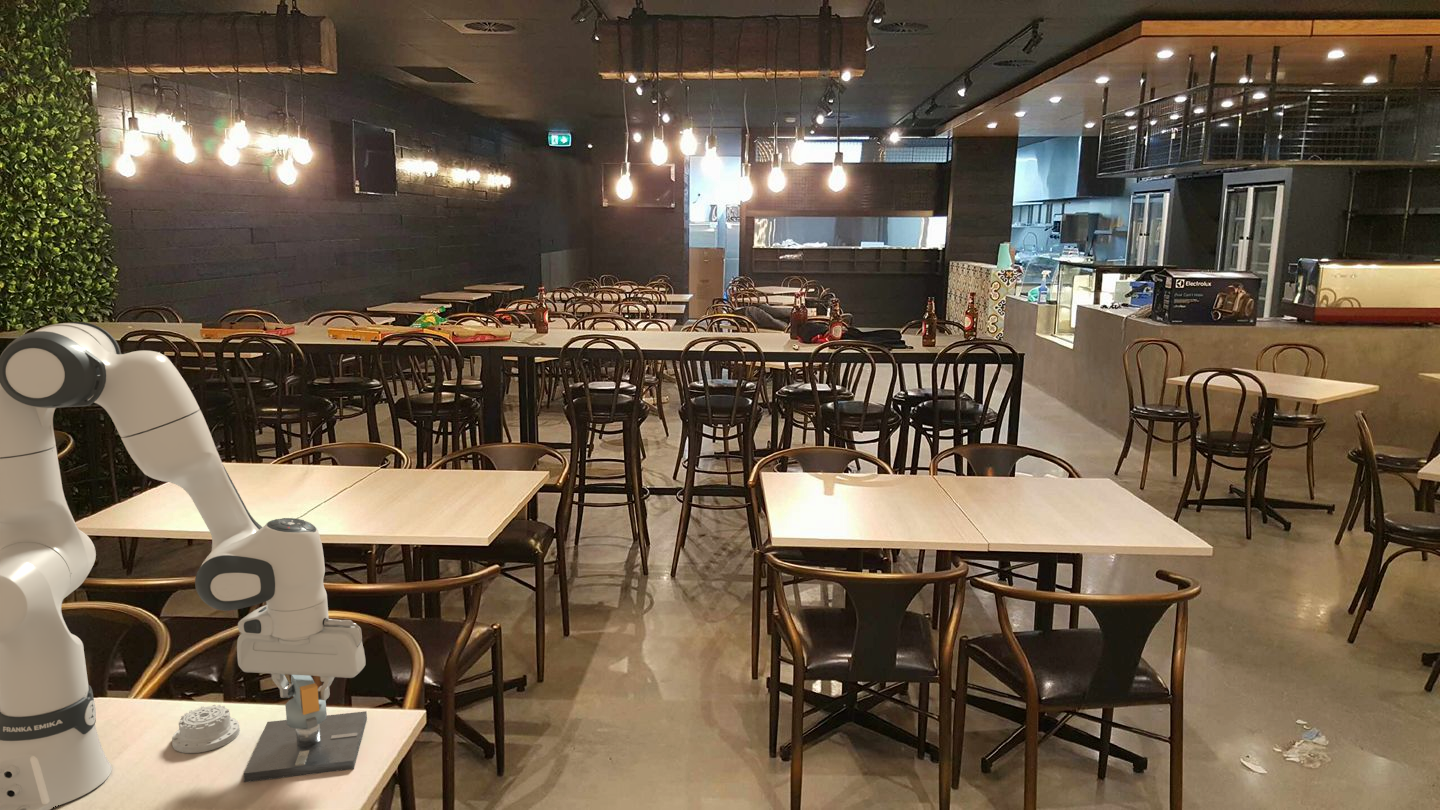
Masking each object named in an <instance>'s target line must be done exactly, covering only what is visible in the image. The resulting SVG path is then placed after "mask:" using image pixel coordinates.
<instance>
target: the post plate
mask: <svg viewBox="0 0 1440 810" xmlns="http://www.w3.org/2000/svg"><path fill="white" fill-rule="evenodd" d="M367 720H368V713H367V710H365V711H364V710H363V711H357V712H356V711H355V712H349V713H348V712H347V713H337V714H336V713H335V714H328V715H327V717H326V719H325V720H324V721H323V722H321V723H320V724H318V725H317V726H316V727H312V728H309V729H308V728H302V729H296V728H291V727H289V726H288V725H287V719H280V720H272V721H267V722H266V725H265V727H264V728H263V731H262V732H261V735H260V737H259V739H258V742H257V743H256V745H255V748H254V750H253V753H252V754H251V757H250V758H249V761H248V763H247V764H246V767H245V769H244V771H243V783H250V782H257V781H266V780H273V779H275V780H276V779H281V778H291V777H298V776H306V775H316V774H324V773H331V772H332V773H333V772H334V773H335V772H340V771H347V770H348V771H349V770H354V769H355V766H356V762H357V759H358V755H359V751H360V747H361V743H362V740H363V736H364V733H365V728H366V723H367V722H368V721H367Z"/></svg>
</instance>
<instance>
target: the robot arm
mask: <svg viewBox="0 0 1440 810" xmlns="http://www.w3.org/2000/svg"><path fill="white" fill-rule="evenodd" d="M93 404H97V405H99V406H100V407H102V408H103V409H104V410H105V411H106V412H107V414H108V416H109V417H110V418H111V420H112V422H113V424H114V426H115V429H116V430H117V432H118V435H119V436H120V439H121V441H122V443H123V445H124V447H125V450H126V452H127V453H128V455H130V458H131V459H132V460H133V462H134V463H135V464H136V466H137V467H138V468H139V469H140V471H141V472H142V473H143V474H144V475H145V476H148V477H149V478H151V479H154V480H157V481H161V482H165V483H171V484H174V485H175V486H178V487H180V488H181V489H183V490H184V491H185V492H186V494H188V496H189V497H190V498H191V500H192V502H193V504H194V505H195V507H196V509H197V511H198V513H199V515H200V516H201V518H202V520H203V522H204V523H205V525H206V527H207V529H208V530H209V533H210V536H211V542H212V544H211V547H212V548H211V552H210V553H209V554H208V555H207V556H206V558H205V559H204V560H203V562H202V563H201V565H200V566H199V568H198V570H197V571H196V574H195V579H194V585H195V590H196V594H197V595H198V596H199V598H200V599H201V601H202V602H203V603H205V604H206V605H207V606H209V607H210V608H212V609H216V610H218V611H237V610H241V609H244V608H245V609H246V608H250V607H253V606H257V605H260V604H263V603H265V602H266V604H265V605H263V606H260V607H258V608H257V609H254V610H253V611H252V612H249V613H248V614H247V615H246V616H244V617H243V618H241V619H240V620H238V623H237V628H238V631H239V633H240V634H239V636H238V638H237V641H236V642H237V643H236V652H237V653H236V654H237V655H236V657H237V664H238V667H239V668H240V670H241V671H242V672H244V673H257V674H270V676H271V680H272V681H273V683H274V684H275V685H276V686H277V688H278V689H279V695H280V698H283V699H292V697H293V695H294V684H292V683H290V682H289V681H288V678H287V677H286V675H290V676H291V675H308V676H311V677H312V676H313V677H319V679H320V682H323V684H322V685H320V686H318V700H326V701H327V699H329V697H330V695H331V693H330V691H331V690H330V687H331V685H332V684H333V681H334V679H335V678H345V679H353V678H355V677H356V676H357V675H358V674H360V673H361V672H362V671H363V669H364V668H365V666H366V655H365V648H364V646H363V635H362V628H361V627H360V626H359V625H358V624H357V623H355V622H353V620H351V619H336V618H329V616H330V615H329V607H328V606H329V605H328V594H327V591H326V589H325V585H324V578H325V577H324V576H325V573H326V567H325V557H324V549H323V544H322V540H321V535H320V533H319V530H318V529H317V527H316V526H315V525H314V524H312V523H311V522H309V521H307V520H304V519H301V518H294V517H290V518H289V517H282V518H275V519H271V520H270V521H268V522H266V524H265V525H264V526H262V525H261V524H259V522H257V521H256V520H255V518H253V516H252V515H251V513H250V512H249V510H248V508H247V507H246V505H245V502H244V501H243V499H242V497H241V495H240V493H239V492H238V489H237V488H236V486H235V483H233V480H232V479H231V477H230V474H229V473H228V471H227V469H226V468H225V466H224V464H223V461H222V459H221V456H220V454H219V452H218V450H217V448H216V447H217V446H216V445H215V441H214V438H213V437H212V433H211V431H210V429H209V426H208V424H207V422H206V419H205V417H204V415H203V412H202V410H201V409H200V406H199V404H198V402H197V400H196V398H195V396H194V394H193V392H192V391H191V389H190V387H189V386H188V384H187V382H186V381H185V379H184V378H183V377H182V375H181V373H180V372H179V370H178V369H177V367H176V366H175V365H174V363H172V361H171V359H170V358H169V357H168V356H166V355H165V354H162V353H161V352H158V351H153V350H146V349H145V350H136V351H135V350H134V351H131V352H127V353H122V352H121V348H120V345H119V343H118V341H117V340H116V338H115V337H114V336H113V335H112V334H111V333H110V332H109V331H107V330H106V329H105V328H102V327H101V326H98V325H97V324H96V325H95V324H92V323H89V322H84V321H70V322H69V321H68V322H63V323H56V324H55V323H54V324H49V325H46V326H43V327H40V328H39V329H37V330H34V331H33V332H27V333H25V334H23V335H20V336H19V337H17V338H15V339H13V341H11V342H10V343H8V345H7V346H6V347H5V348H4V350H2V353H1V354H0V810H52V809H53V807H54V808H56V807H59V806H60V805H64V804H67V803H69V802H72V801H74V800H76V799H79V798H81V797H83V796H85V795H86V794H88V793H90V792H92V791H93V790H95V789H96V788H98V787H99V786H100V785H102V784H103V783H104V782H105V781H106V780H108V778H109V776H110V775H111V773H112V764H111V763H110V761H109V760H108V757H107V756H106V753H105V751H104V749H103V747H102V743H101V741H100V738H99V734H98V731H97V727H96V723H97V711H96V702H95V699H94V693H93V689H92V686H91V685H89V680H88V674H87V673H88V672H87V665H86V658H85V657H86V656H85V651H84V649H85V648H84V643H83V641H82V640H81V638H79V637H78V636H77V635H75V634H73V633H71V631H70V630H69V628H68V626H67V624H66V622H65V620H64V617H63V613H62V605H63V601H64V599H65V598H66V597H68V596H69V595H70V594H72V593H73V592H74V591H75V590H77V589H78V588H79V587H81V586H82V584H83V583H84V581H85V580H86V579H87V577H88V576H89V574H90V572H91V571H92V568H93V566H94V565H95V561H96V558H97V557H96V556H97V554H96V553H97V552H96V547H95V544H94V543H93V541H92V539H91V538H90V537H89V536H88V534H86V533H85V532H84V531H82V530H81V529H79V527H78V525H77V523H76V522H75V519H74V517H73V515H72V512H71V510H70V507H69V505H68V501H67V500H66V497H65V493H64V489H63V484H62V483H63V482H62V475H61V469H60V464H59V459H58V450H57V446H56V445H57V443H56V437H55V431H54V413H55V410H56V409H57V408H59V409H60V408H72V407H73V408H74V407H88V406H91V405H93ZM58 805H59V806H58ZM55 806H56V807H55Z"/></svg>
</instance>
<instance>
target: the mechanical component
mask: <svg viewBox="0 0 1440 810" xmlns="http://www.w3.org/2000/svg"><path fill="white" fill-rule="evenodd" d="M178 728H179V729H178V730H176V731H175V732H174V733H173V735H172V736H171V741H172V745H171V746H172V749H174V750H175V751H176V752H179V753H185V754H197V753H204V752H205V753H206V752H208V751H211V750H212V751H213V750H216V749H218V748H220V747H223V746H225V745H228V744H229V743H230V742H232V741H234V739H236V738H237V737H238V735H239V733H240V731H241V730H240V722H239V721H238V720H237V719H236V718H233V717H231V713H230V709H228V708H226V707H225V705H221V704H218V705H216V704H213V705H210V706H201V707H200V708H199V707H198V708H197V709H194V710H189V711H188V712H185V713H184V715H182V716H180V719H179V721H178Z"/></svg>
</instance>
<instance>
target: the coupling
mask: <svg viewBox="0 0 1440 810" xmlns="http://www.w3.org/2000/svg"><path fill="white" fill-rule="evenodd" d="M290 679H291V680H290V681H291V684H294V695H293V696H292V697H293V698H292V697H291V698H290V699H289V700H288V701H287V702H286V703H285V716H286V718H285V719H286V720H287V725H288V726H289V727H291V728H296V729H302V728H308V729H309V728H312V727H316V726H317V725H318V724H320V723H321V722H323V721H324V720H325V719H326V717H327V703H326V701H327V699H326V700H318V688H319V686H318V685H317V683H316V682H315V681H314V679H313V677H312V676H308V675H290Z"/></svg>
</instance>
